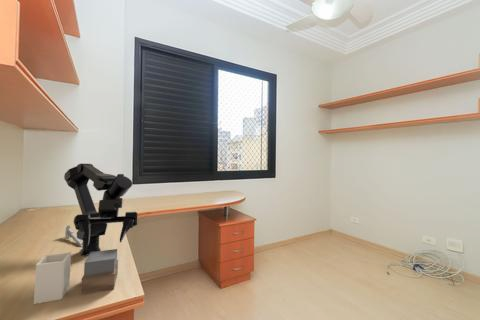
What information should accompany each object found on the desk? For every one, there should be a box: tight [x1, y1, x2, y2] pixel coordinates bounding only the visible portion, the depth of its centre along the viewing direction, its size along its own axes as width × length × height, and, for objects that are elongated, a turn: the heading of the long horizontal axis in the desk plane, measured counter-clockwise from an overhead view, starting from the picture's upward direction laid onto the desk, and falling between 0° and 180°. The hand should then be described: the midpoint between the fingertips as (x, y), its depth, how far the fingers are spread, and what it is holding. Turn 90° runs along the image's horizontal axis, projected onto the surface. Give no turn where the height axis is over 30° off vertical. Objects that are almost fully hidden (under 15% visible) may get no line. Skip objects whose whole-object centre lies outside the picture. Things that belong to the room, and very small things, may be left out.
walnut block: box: [80, 259, 119, 296], centre depth 66 cm, size 10×8×4 cm
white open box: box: [33, 252, 72, 305], centre depth 59 cm, size 6×6×10 cm
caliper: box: [64, 224, 83, 248], centre depth 99 cm, size 20×1×6 cm, turn 55°
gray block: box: [83, 248, 118, 277], centre depth 66 cm, size 8×7×4 cm
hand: (104, 243), depth 70 cm, fingers open, 9 cm apart
